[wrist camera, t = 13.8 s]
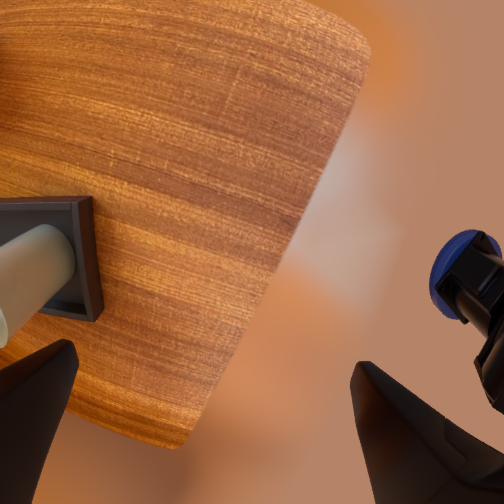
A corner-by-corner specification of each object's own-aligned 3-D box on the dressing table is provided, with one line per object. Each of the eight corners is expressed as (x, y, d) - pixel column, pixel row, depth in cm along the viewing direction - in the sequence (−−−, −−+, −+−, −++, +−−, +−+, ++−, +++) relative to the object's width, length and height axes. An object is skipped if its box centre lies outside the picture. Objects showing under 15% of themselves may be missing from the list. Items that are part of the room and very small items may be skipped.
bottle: (75, 229, 20) (-49, 318, 8) (77, 291, 22) (-15, 400, 10) (25, 219, 19) (-94, 289, 8) (29, 278, 21) (-66, 365, 9)
